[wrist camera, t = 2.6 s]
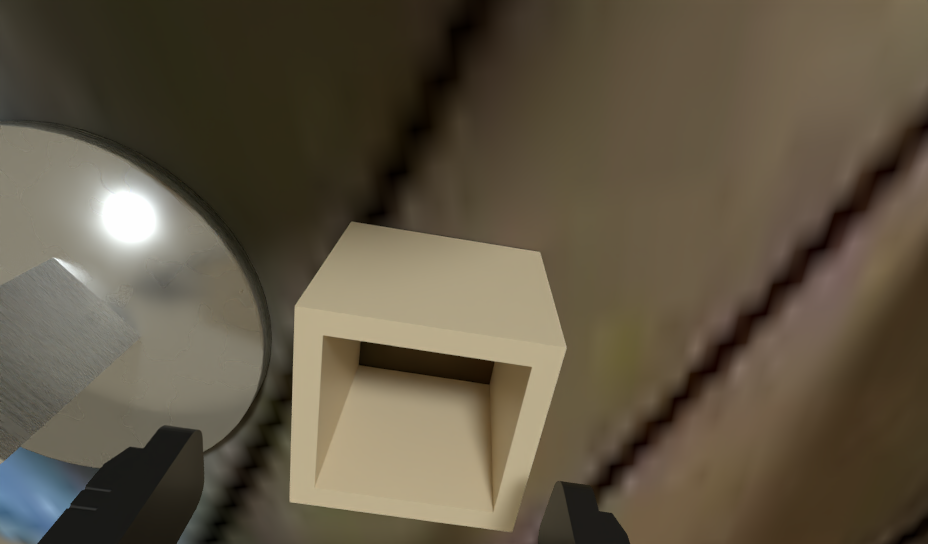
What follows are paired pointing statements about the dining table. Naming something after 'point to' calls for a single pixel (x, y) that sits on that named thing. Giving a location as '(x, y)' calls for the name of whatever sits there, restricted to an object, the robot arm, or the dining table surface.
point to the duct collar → (422, 378)
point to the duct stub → (116, 301)
